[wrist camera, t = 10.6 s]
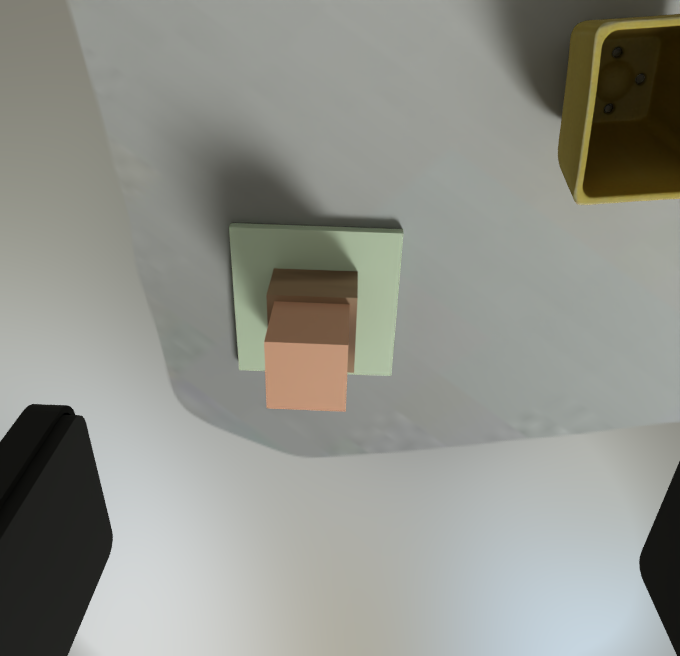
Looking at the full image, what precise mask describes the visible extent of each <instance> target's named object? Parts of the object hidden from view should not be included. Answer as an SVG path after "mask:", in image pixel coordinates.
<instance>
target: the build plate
mask: <svg viewBox="0 0 680 656" xmlns="http://www.w3.org/2000/svg"><path fill="white" fill-rule="evenodd" d="M229 233H230V247H231V261H232V275H233V290H234V304H235V318H236V332H237V346H238V360H239V370H251V371H265V352H264V340H265V336H266V332H267V328H268V322H267V297H266V294H267V291H268V287H269V284H270V280H271V277H272V273H273V269H274V268H279V269H306V270H333V271H358V300H357V321H356V342H355V363H354V373H347V374H354V375H380V376H391V372H392V360H393V349H394V337H395V325H396V314H397V302H398V290H399V279H400V267H401V255H402V244H403V229H384V228H357V227H329V226H302V225H274V224H246V223H231V224H230V226H229Z"/></svg>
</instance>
